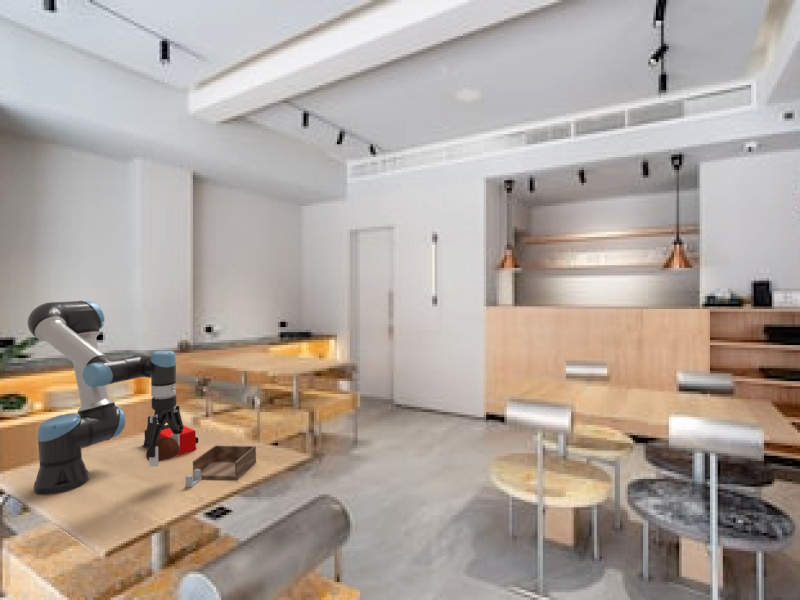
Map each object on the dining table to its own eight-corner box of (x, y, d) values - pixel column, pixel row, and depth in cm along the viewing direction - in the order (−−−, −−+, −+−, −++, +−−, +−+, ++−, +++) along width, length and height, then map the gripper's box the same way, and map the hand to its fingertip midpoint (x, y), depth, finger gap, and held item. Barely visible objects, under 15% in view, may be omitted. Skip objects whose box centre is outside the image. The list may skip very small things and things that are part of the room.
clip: (185, 487, 148) (184, 476, 148) (195, 479, 154) (194, 469, 154) (191, 487, 148) (191, 476, 148) (201, 479, 154) (201, 469, 154)
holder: (193, 478, 155) (192, 461, 155) (215, 461, 170) (215, 445, 170) (237, 479, 153) (236, 462, 153) (256, 462, 168) (255, 446, 168)
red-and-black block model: (173, 418, 199) (200, 429, 184) (174, 436, 200) (200, 448, 184) (139, 426, 188) (163, 439, 172) (139, 445, 188) (164, 459, 173)
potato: (186, 455, 155) (186, 433, 154) (157, 468, 144) (156, 444, 144) (171, 452, 158) (171, 430, 157) (141, 464, 147) (141, 441, 147)
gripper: (151, 406, 138) (152, 474, 139) (193, 388, 161) (194, 446, 162) (129, 405, 139) (130, 472, 140) (174, 387, 162) (175, 445, 163)
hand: (165, 458), depth 151 cm, fingers closed on potato, 11 cm apart
